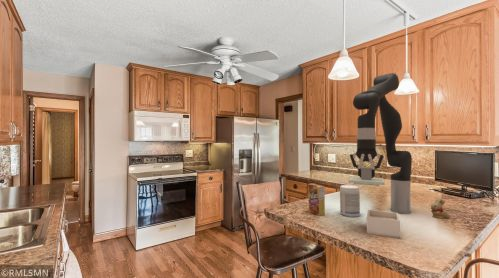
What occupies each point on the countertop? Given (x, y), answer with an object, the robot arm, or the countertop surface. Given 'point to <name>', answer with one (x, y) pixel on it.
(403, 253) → the countertop surface
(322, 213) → the candy box
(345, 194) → the supplement tub
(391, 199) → the robot arm
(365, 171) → the lid
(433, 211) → the chocolate bunny
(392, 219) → the storage box
